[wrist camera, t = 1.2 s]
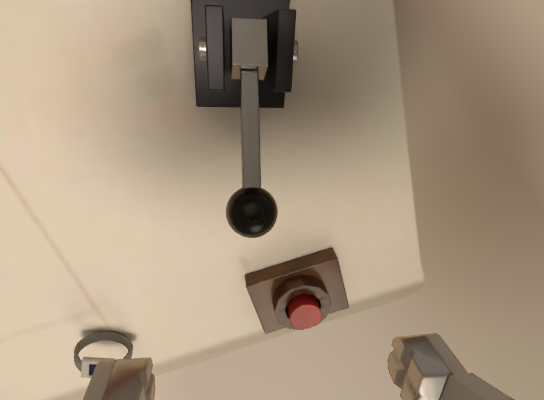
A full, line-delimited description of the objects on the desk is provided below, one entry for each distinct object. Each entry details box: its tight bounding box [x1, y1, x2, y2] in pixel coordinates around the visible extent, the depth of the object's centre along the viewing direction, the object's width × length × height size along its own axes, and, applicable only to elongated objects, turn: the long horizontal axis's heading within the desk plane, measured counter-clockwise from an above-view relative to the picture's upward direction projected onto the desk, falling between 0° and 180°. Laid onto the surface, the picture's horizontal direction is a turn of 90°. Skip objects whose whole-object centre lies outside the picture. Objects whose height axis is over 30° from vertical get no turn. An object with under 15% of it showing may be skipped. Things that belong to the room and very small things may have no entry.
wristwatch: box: [74, 332, 133, 378], centre depth 39 cm, size 6×3×5 cm, turn 76°
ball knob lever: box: [226, 17, 278, 238], centre depth 21 cm, size 13×3×3 cm, turn 178°
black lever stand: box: [191, 0, 298, 108], centre depth 24 cm, size 10×8×12 cm
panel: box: [245, 248, 349, 334], centre depth 40 cm, size 11×8×4 cm
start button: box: [287, 294, 321, 329], centre depth 38 cm, size 4×4×2 cm
